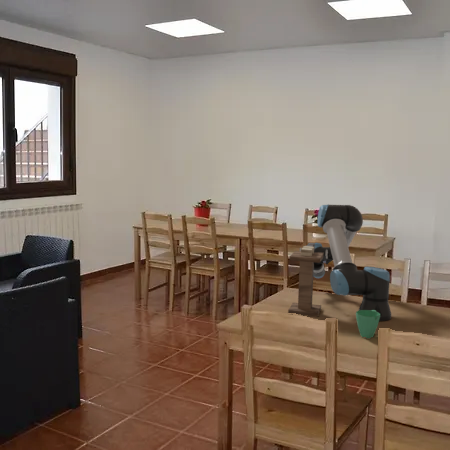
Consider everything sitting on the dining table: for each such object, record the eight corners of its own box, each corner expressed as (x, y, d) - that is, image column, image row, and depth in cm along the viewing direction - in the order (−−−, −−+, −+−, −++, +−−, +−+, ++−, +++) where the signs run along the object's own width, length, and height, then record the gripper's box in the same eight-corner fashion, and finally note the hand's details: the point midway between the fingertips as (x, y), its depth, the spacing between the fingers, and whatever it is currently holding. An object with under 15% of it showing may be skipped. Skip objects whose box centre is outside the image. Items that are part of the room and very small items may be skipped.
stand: (317, 317, 256) (320, 258, 253) (287, 314, 260) (289, 256, 257) (321, 308, 272) (323, 252, 268) (293, 306, 275) (295, 250, 272)
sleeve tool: (311, 256, 258) (311, 249, 258) (300, 255, 259) (300, 249, 259) (316, 249, 279) (316, 243, 279) (306, 248, 280) (307, 242, 280)
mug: (375, 341, 224) (376, 318, 223) (351, 337, 229) (352, 314, 228) (384, 332, 236) (386, 309, 235) (362, 328, 241) (363, 306, 240)
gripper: (338, 272, 300) (336, 259, 282) (293, 269, 307) (288, 256, 288) (339, 259, 303) (338, 245, 284) (294, 256, 310) (290, 242, 291)
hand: (313, 251), depth 286 cm, fingers open, 13 cm apart
